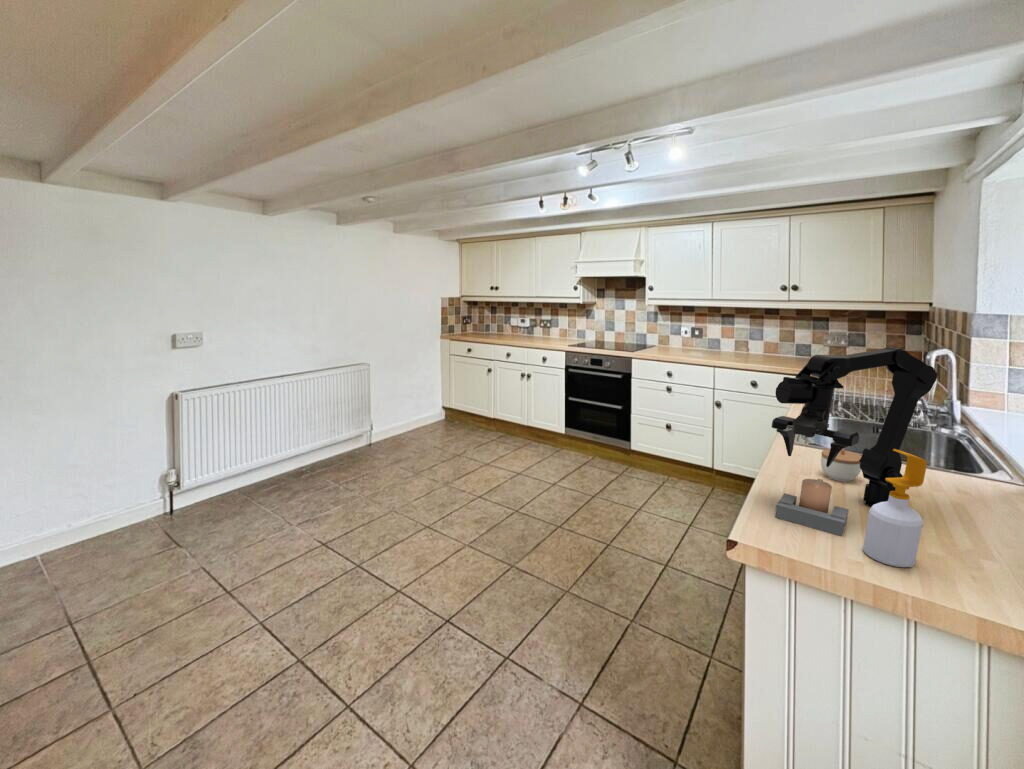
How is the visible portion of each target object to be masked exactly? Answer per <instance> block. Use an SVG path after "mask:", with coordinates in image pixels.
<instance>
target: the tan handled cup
mask: <svg viewBox="0 0 1024 769" xmlns="http://www.w3.org/2000/svg"><path fill="white" fill-rule="evenodd" d="M800 487H801V488H800V494H799V503H798V506H801V507H804V508H808V509H812V510H816V511H820V512H824V513H828V514H829V507H830V501H831V494H832V487H833V486H832V485H831V484H830V483H828V482H827V481H824V479H823V478H817V479H814V478H805V479H802V481H801V486H800Z"/></svg>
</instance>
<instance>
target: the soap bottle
mask: <svg viewBox="0 0 1024 769" xmlns="http://www.w3.org/2000/svg"><path fill="white" fill-rule="evenodd" d="M893 451H896V452H899V454H900V455H904V456H906V463H905V469H904V474H902V475H903V477H899V478H886V479H885V480H886V481H888V482H890V483H892V484H893V486H894V487H896V488H895V491H890V494H889V499H888V501H886V502H880V503H877V504H874V505H873V506H870V509H869V512H868V516H867V522H866V527H865V533H864V534H865V535H864V541H863V545H862V550H863V551H864V553H865V555H867V556H868V557H870V558H872V559H873V560H875V561H877V562H879V563H882V564H885V565H887V566H891V567H897V568H910V567H914V566H915V563H916V560H917V556H918V550H919V546H920V545H919V544H920V541H921V540H920V539H921V535H922V528H923V526H924V525H923V523H924V521H923V517H922V516H921V515H920V514H919V513H918V512H917V511H916V510H915V509H913V508H912V507H910V506H909V501H910V495H909V494H907V493H906V490H908V491H909V490H910V488H917V487H921V486H922V485H923V483H924V481H925V476H926V471H927V465H928V463H927V460H926V459H924V458H921V457H919V456H916V455H913V454H911V453H908V452H905V451H902V450H900V449H899V450H896V449H893Z"/></svg>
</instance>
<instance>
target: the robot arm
mask: <svg viewBox="0 0 1024 769" xmlns="http://www.w3.org/2000/svg"><path fill="white" fill-rule="evenodd" d="M880 367H885V368H886V370H888V372H890V374H892V377H891V378H892V380H891V385H892V389H893V392H894V395H893V398H892V401H891V402H890V406H889V409H888V412H887V415H886V417H885V419H884V422H883V425H882V428H881V430H880V433H879V435H878V437H877V438H878V439H877V441H876V444H874V445H873V446H872V447H870V448H864V449H863V451H862V455H861V456H862V457H861V459H860V460H859V462H860V468H861V472H862V473H861V474H862V476H863V478H864V479H867V480H868V483H865V487H864V492H863V501H864V505H865V506H869V507H872V506H873V505H874V504H877V503H880V502H886V501H888V499H889V494H890V491H895V488H896V487H894V486H893V484H892V483H890V482H888V481H886V480H885V479H886V478H899V477H903V475H904V474H902V472H901V470H902V464H903V461H902V458H901V453H899V452H896V451H893V449H896V450H900V449H901V446H902V445H903V440H904V439H905V437H906V436H905V435H906V434H907V431H908V428H909V425H910V423H911V421H912V418H913V415H914V412H915V409H916V407H917V404H918V401H919V400H920V399H922V398H923V397H924V396H926V394H928V393H930V392H931V390H932V388H933V386H934V384H935V383H936V381H937V377H938V372H936V369H935V368H934V367H933V366H932V365H928V364H927V363H925V362H924V361H923V360H920V359H919V358H917V357H915V356H913V355H911V354H910V353H909V352H908V351H907V350H905V349H904V348H898V347H892V346H887V347H883V348H881V349H875V350H869V351H862V352H857V353H852V354H846V355H839V354H838V355H836V354H815V355H812V356H811V357H810V359H809V360H808V362H807V364H805V365H804V366H803V367H802V369H801V370H800V371H799V372H798V373H797V374H796V375H795V377H790V376H784V377H783V378H782V381H780V382H779V383H778V385H777V387H776V388H775V397H776V400H777V401H778V402H779V403H780V404H797V405H804V406H802V409H801V412H800V414H799V415H798V416H797V417H796V418H794V417H789V416H785V415H781V416H777V417H775V418H773V419H772V421H771V422H772V423H771V428H773V429H775V431H776V433H779V434H780V435H781V436H782V438H783V440H784V444H785V449H786V454H787V456H788V457H791V456H792V454H793V451H794V444H795V440H796V439H795V438H796V435H801V436H805V437H806V438H813V437H815V435H818V436H823V437H827V438H831V439H832V441H833V442H831V443H830V448H829V449H830V452H829V456H828V459H827V464H826V467H829V466H830V465H831V463H832V462H833V460H834V459H835V458H836V456H837V455H838V453H839V452H840V451H841V450H842V449H846V448H848V447H854V446H855V445H857V444H858V443H859V440H860V435H859V433H858V431H854V430H849V429H844V428H840V429H838V430H837V429H836V430H832V429H828V428H829V427H830V423H829V420H830V415H831V413H833V412H832V411H833V408H832V403H833V398H834V394H835V389H844V385H842V383H840V382H839V379H842V378H844V377H847V376H848V375H849V374H850V373H853V372H857V371H863V370H868V369H873V368H880Z"/></svg>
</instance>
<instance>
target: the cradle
mask: <svg viewBox="0 0 1024 769" xmlns="http://www.w3.org/2000/svg"><path fill="white" fill-rule="evenodd" d="M797 499H798V496H796V495H792V494H789V493H785V492H784V493H783V494H782V495H781V498H780V499H779V500H778V502H777V504H776V505H775V506H776V508H775V514H774V515H775V516H774V517H775V519H779V520H783V521H787V522H790V523H793V524H796V525H797V524H798V525H800V526H801V525H802V526H805V527H807V528H812V529H814V530H818V531H821V532H826V533H829V534H833V535H837V536H840V537H843V535H844V532H845V528H846V525H847V522H848V516H849V508H845V507H840V506H837V505H834V506H833V509H832V511H831V513H829V512H828V513H824V512H820V511H816V510H812V509H808V508H804V507H801V506H799V505H797Z"/></svg>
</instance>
